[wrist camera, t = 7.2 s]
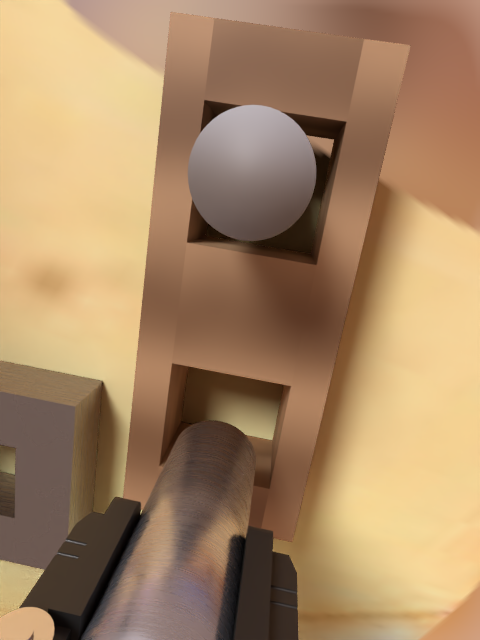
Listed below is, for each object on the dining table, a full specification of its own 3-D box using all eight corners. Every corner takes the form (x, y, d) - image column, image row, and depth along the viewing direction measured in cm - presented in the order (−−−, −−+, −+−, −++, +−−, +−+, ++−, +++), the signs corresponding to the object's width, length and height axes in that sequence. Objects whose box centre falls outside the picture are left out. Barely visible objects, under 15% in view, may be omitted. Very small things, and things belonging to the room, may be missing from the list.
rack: (195, 53, 18) (110, -89, 9) (383, 80, 17) (477, -43, 9) (149, 456, 23) (68, 602, 15) (291, 485, 23) (294, 654, 14)
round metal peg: (178, 412, 16) (-50, 837, 5) (262, 429, 15) (208, 908, 5) (168, 485, 17) (-44, 976, 6) (248, 502, 16) (176, 1041, 6)
